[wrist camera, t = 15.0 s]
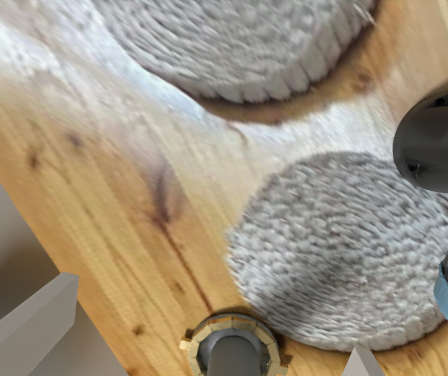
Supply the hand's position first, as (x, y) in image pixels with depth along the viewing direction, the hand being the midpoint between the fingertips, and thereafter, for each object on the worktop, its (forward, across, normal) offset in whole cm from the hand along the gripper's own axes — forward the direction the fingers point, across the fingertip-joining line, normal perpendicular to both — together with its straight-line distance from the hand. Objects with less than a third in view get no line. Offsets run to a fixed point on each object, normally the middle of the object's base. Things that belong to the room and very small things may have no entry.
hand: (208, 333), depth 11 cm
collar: (+32, +8, -33) cm, 46 cm away
